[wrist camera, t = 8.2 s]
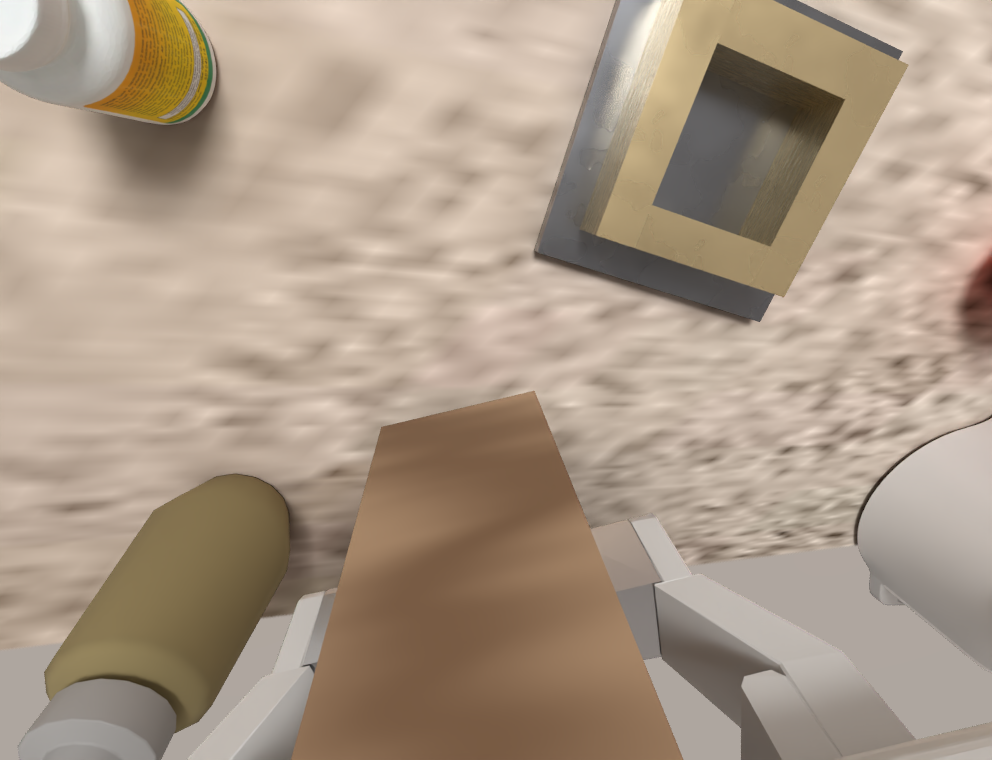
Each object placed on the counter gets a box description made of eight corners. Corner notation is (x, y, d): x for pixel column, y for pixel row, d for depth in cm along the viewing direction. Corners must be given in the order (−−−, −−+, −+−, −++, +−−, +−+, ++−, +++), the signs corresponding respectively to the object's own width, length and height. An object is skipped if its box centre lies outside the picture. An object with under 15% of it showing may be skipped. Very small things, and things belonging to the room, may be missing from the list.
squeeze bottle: (218, 572, 32) (-20, 983, 16) (147, 481, 29) (-246, 878, 13) (328, 536, 32) (202, 916, 16) (268, 440, 29) (30, 791, 12)
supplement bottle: (104, 119, 22) (-131, 78, 13) (74, -26, 20) (-231, -194, 11) (228, 132, 22) (85, 101, 13) (212, -8, 20) (30, -153, 11)
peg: (534, 391, 12) (723, 861, 4) (559, 512, 14) (729, 1030, 5) (375, 428, 12) (214, 979, 4) (419, 546, 14) (373, 1113, 5)
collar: (885, 56, 24) (965, 33, 20) (750, 317, 28) (794, 337, 25) (636, -62, 21) (676, -114, 17) (534, 249, 26) (548, 261, 22)
